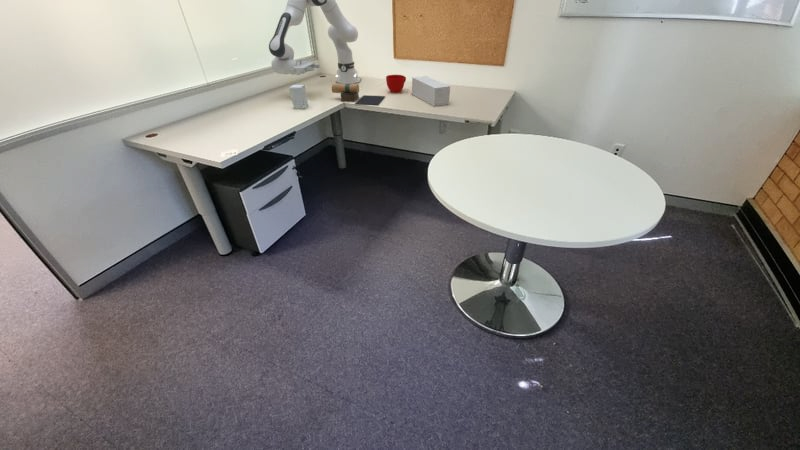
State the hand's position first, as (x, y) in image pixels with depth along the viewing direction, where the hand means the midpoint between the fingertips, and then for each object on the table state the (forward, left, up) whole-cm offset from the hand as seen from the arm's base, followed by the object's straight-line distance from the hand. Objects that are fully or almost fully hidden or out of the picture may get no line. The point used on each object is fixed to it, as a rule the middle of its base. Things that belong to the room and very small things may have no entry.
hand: (316, 67), depth 210 cm
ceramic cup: (-26, +48, -19) cm, 58 cm away
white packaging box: (+22, -4, -19) cm, 29 cm away
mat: (0, +35, -19) cm, 39 cm away
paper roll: (0, +18, -12) cm, 22 cm away
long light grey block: (-10, +73, -19) cm, 76 cm away
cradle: (0, +21, -19) cm, 28 cm away
